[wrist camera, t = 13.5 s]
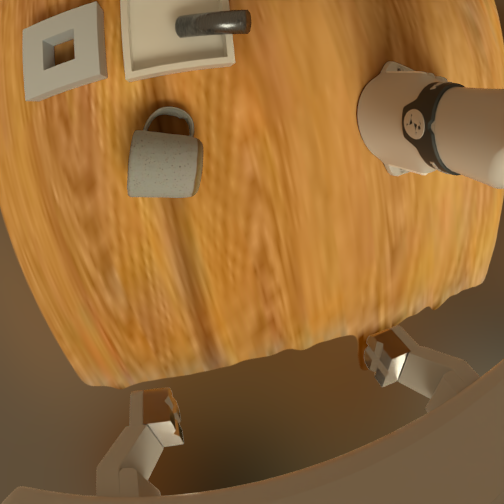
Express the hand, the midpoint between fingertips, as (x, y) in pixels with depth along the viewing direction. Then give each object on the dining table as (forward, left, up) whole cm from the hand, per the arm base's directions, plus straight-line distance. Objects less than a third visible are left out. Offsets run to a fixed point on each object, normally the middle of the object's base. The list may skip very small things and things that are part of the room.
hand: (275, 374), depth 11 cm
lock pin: (0, -21, -29) cm, 36 cm away
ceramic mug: (+4, -5, -31) cm, 32 cm away
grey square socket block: (+15, -21, -31) cm, 41 cm away
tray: (+1, -21, -31) cm, 38 cm away
